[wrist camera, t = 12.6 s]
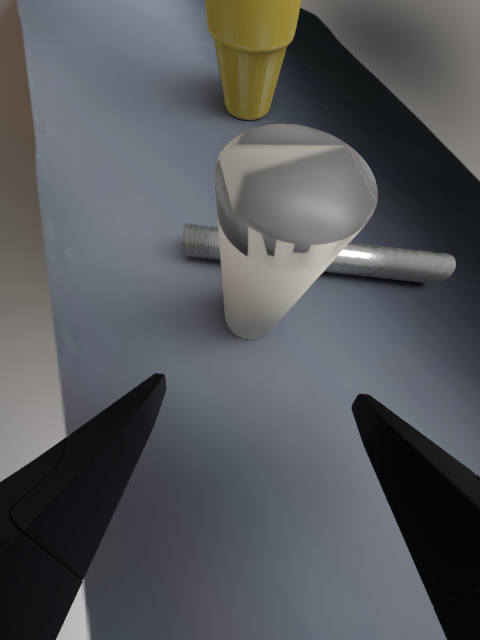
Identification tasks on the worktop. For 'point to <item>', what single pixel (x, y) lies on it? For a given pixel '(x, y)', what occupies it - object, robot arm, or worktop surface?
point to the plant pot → (251, 50)
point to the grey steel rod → (346, 258)
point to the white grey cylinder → (284, 217)
